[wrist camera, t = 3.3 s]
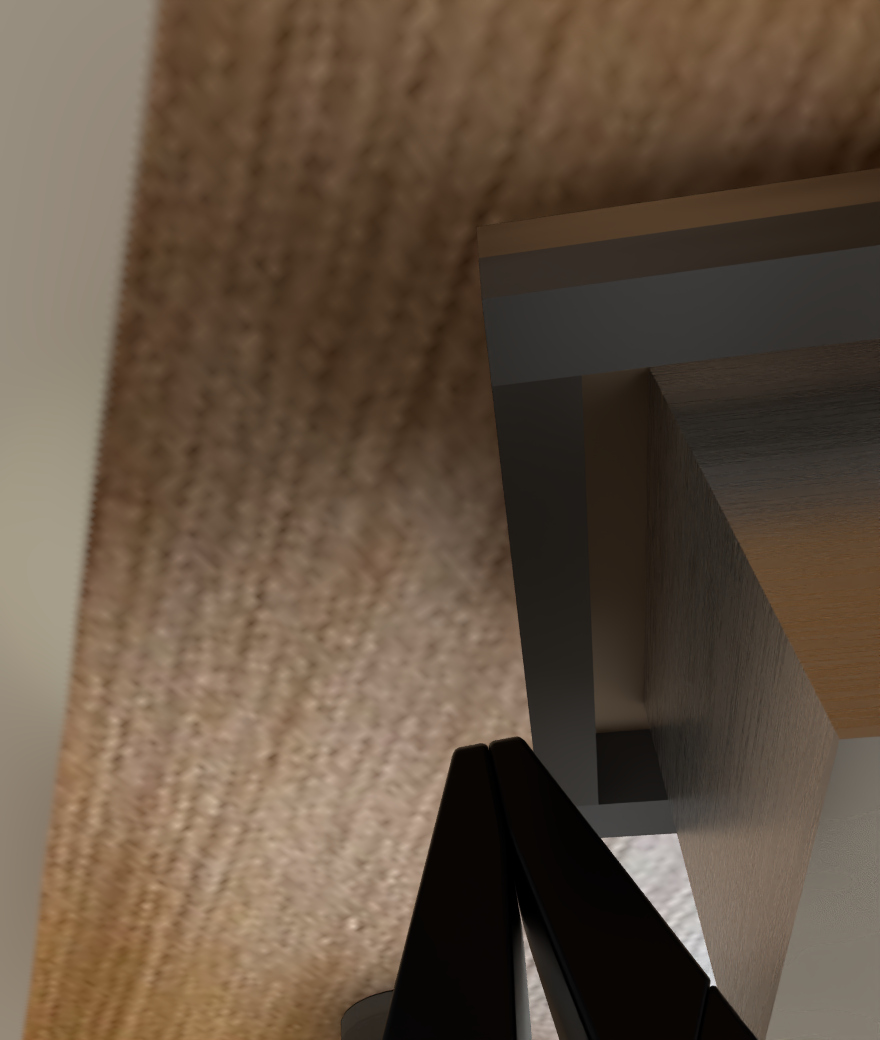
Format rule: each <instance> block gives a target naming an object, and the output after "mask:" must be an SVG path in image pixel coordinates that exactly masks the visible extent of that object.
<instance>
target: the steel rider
mask: <svg viewBox="0 0 880 1040" xmlns="http://www.w3.org/2000/svg"><path fill="white" fill-rule="evenodd" d="M644 708H645V712H646V716H647V720H648V723H649V727H650V731H651V735H652V739H653V743H654V747H655V750H656V754H657V758H658V762H659V766H660V770H661V773H662V777H663V781H664V785H665V789H666V793H667V796H668V800H669V804H670V808H671V812H672V816H673V820H674V823H675V827H676V831H677V835H678V839H679V843H680V846H681V850H682V854H683V858H684V862H685V866H686V870H687V873H688V877H689V881H690V885H691V889H692V893H693V896H694V900H695V904H696V908H697V912H698V916H699V920H700V923H701V927H702V931H703V935H704V939H705V943H706V946H707V950H708V954H709V958H710V962H711V966H712V969H713V973H714V977H715V981H716V985H717V988H718V989H719V991H720V992H721V993H722V994H723V996H724V997H725V998H726V1000H727V1001H728V1002H729V1003H730V1005H731V1006H732V1007H733V1009H734V1010H735V1011H736V1012H737V1014H738V1015H739V1016H740V1018H741V1019H742V1020H743V1021H744V1023H745V1024H746V1025H747V1026H748V1027H749V1029H750V1030H751V1031H752V1032H753V1034H754V1035H755V1036H756V1037H757V1038H758V1040H880V338H878V339H870V340H862V341H854V342H846V343H838V344H830V345H822V346H814V347H806V348H797V349H789V350H781V351H773V352H765V353H757V354H749V355H741V356H733V357H725V358H717V359H709V360H701V361H693V362H685V363H677V364H669V365H661V366H653V367H649V397H648V460H647V522H646V584H645V647H644Z"/></svg>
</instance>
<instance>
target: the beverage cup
mask: <svg viewBox="0 0 880 1040" xmlns="http://www.w3.org/2000/svg"><path fill="white" fill-rule="evenodd" d="M392 994H393V991H391V992H386V993H382V994H379V995H375V996H372V997H369V998H367V999H365V1000H363V1001H361V1002H359V1003H357V1004H355V1005H354V1006H353V1007H351V1008H350V1009H349V1010H348V1011H347V1012H346V1013H345V1015H344V1017H343V1018H342V1020H341V1040H381V1038H382V1034H383V1030H384V1026H385V1022H386V1018H387V1014H388V1010H389V1006H390V1002H391V998H392Z"/></svg>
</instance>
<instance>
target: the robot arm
mask: <svg viewBox="0 0 880 1040" xmlns="http://www.w3.org/2000/svg"><path fill="white" fill-rule="evenodd" d="M517 899H518V900H517ZM518 904H519V906H518ZM519 908H520V912H521V917H522V921H523V925H524V929H525V932H526V936H527V939H528V943H529V946H530V949H531V952H532V955H533V959H534V962H535V965H536V968H537V971H538V974H539V977H540V980H541V984H542V987H543V990H544V993H545V996H546V999H547V1002H548V1005H549V1009H550V1012H551V1015H552V1018H553V1021H554V1024H555V1027H556V1030H557V1034H558V1037H559V1040H758V1038H757V1037H756V1036H755V1035H754V1034H753V1032H752V1031H751V1030H750V1029H749V1027H748V1026H747V1025H746V1024H745V1023H744V1021H743V1020H742V1019H741V1018H740V1016H739V1015H738V1014H737V1012H736V1011H735V1010H734V1009H733V1007H732V1006H731V1005H730V1003H729V1002H728V1001H727V1000H726V998H725V997H724V996H723V994H722V993H721V992H720V991H719V989H718V988H717V987H716V986H711V987H710V978H709V977H708V976H707V974H706V973H705V972H704V971H703V969H702V968H701V967H700V965H699V964H698V963H697V962H696V960H695V959H694V958H693V956H692V955H691V954H690V953H689V951H688V950H687V949H686V947H685V946H684V945H683V944H682V942H681V941H680V940H679V938H678V937H677V936H676V935H675V933H674V932H673V931H672V929H671V928H670V927H669V926H668V924H667V923H666V922H665V920H664V919H663V918H662V917H661V915H660V914H659V913H658V911H657V910H656V909H655V908H654V906H653V905H652V904H651V902H650V901H649V900H648V899H647V897H646V896H645V895H644V893H643V892H642V891H641V890H640V888H639V887H638V886H637V884H636V883H635V882H634V881H633V879H632V878H631V877H630V875H629V874H628V873H627V872H626V870H625V869H624V868H623V866H622V865H621V864H620V863H619V861H618V860H617V859H616V857H615V856H614V855H613V854H612V852H611V851H610V850H609V848H608V847H607V846H606V845H605V843H604V842H603V841H602V839H601V838H600V837H599V836H598V834H597V833H596V832H595V830H594V829H593V828H592V827H591V825H590V824H589V823H588V821H587V820H586V819H585V818H584V816H583V815H582V814H581V812H580V811H579V810H578V809H577V807H576V806H575V805H574V803H573V802H572V801H571V800H570V798H569V797H568V796H567V794H566V793H565V792H564V791H563V789H562V788H561V787H560V785H559V784H558V783H557V782H556V780H555V779H554V778H553V776H552V775H551V774H550V773H549V771H548V770H547V769H546V767H545V766H544V765H543V764H542V762H541V761H540V760H539V758H538V757H537V756H536V755H535V753H534V752H533V751H532V749H531V748H530V747H529V746H528V744H527V743H526V742H525V741H524V740H523V739H522V738H520V737H511V738H506V739H500V740H495V741H492V742H491V743H490V745H489V749H488V746H487V745H486V744H483V743H480V744H474V745H469V746H464V747H459V748H457V749H456V750H455V751H454V753H453V756H452V759H451V763H450V767H449V771H448V775H447V779H446V783H445V787H444V791H443V795H442V799H441V803H440V807H439V811H438V815H437V819H436V823H435V827H434V831H433V835H432V839H431V843H430V847H429V851H428V855H427V859H426V863H425V867H424V871H423V875H422V879H421V883H420V887H419V891H418V895H417V899H416V903H415V907H414V911H413V915H412V919H411V923H410V927H409V931H408V935H407V939H406V943H405V946H404V950H403V954H402V958H401V962H400V966H399V970H398V974H397V978H396V982H395V986H394V990H393V994H392V998H391V1002H390V1006H389V1010H388V1014H387V1018H386V1022H385V1026H384V1030H383V1034H382V1038H381V1040H532V1035H531V1023H530V1011H529V999H528V987H527V975H526V963H525V951H524V941H523V932H522V924H521V918H520V912H519Z"/></svg>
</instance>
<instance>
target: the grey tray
mask: <svg viewBox="0 0 880 1040" xmlns="http://www.w3.org/2000/svg"><path fill="white" fill-rule="evenodd" d="M476 229H477V242H478V255H479V269H480V282H481V295H482V305H483V314H484V323H485V331H486V340H487V349H488V358H489V366H490V375H491V384H492V393H493V401H494V410H495V419H496V427H497V436H498V445H499V454H500V462H501V471H502V480H503V489H504V497H505V506H506V515H507V524H508V532H509V541H510V550H511V558H512V567H513V576H514V585H515V593H516V602H517V611H518V620H519V628H520V637H521V646H522V655H523V663H524V672H525V681H526V689H527V698H528V707H529V716H530V724H531V733H532V742H533V751H534V753H535V755H536V756H537V757H538V758H539V760H540V761H541V762H542V764H543V765H544V766H545V767H546V769H547V770H548V771H549V773H550V774H551V775H552V776H553V778H554V779H555V780H556V782H557V783H558V784H559V785H560V787H561V788H562V789H563V791H564V792H565V793H566V794H567V796H568V797H569V798H570V800H571V801H572V802H573V803H574V805H575V806H576V807H577V809H578V810H579V811H580V812H581V814H582V815H583V816H584V818H585V819H586V820H587V821H588V823H589V824H590V825H591V827H592V828H593V829H594V830H595V832H596V833H597V834H598V836H599V837H600V838H607V837H623V836H639V835H655V834H671V833H677V831H676V827H675V823H674V820H673V816H672V812H671V808H670V804H669V800H668V796H667V793H666V789H665V785H664V781H663V777H662V773H661V770H660V766H659V762H658V758H657V754H656V750H655V747H654V743H653V739H652V735H651V731H650V727H649V723H648V720H647V716H646V712H645V708H644V647H645V584H646V522H647V460H648V397H649V367H653V366H661V365H669V364H677V363H685V362H693V361H701V360H709V359H717V358H725V357H733V356H741V355H749V354H757V353H765V352H773V351H781V350H789V349H797V348H806V347H814V346H822V345H830V344H838V343H846V342H854V341H862V340H870V339H878V338H880V168H876V169H869V170H863V171H856V172H849V173H842V174H835V175H828V176H821V177H815V178H808V179H801V180H794V181H787V182H780V183H774V184H767V185H760V186H753V187H746V188H739V189H732V190H726V191H719V192H712V193H705V194H698V195H691V196H684V197H678V198H671V199H664V200H657V201H650V202H643V203H637V204H630V205H623V206H616V207H609V208H602V209H595V210H589V211H582V212H575V213H568V214H561V215H554V216H548V217H541V218H534V219H527V220H520V221H513V222H506V223H500V224H493V225H486V226H479V227H476Z"/></svg>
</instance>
